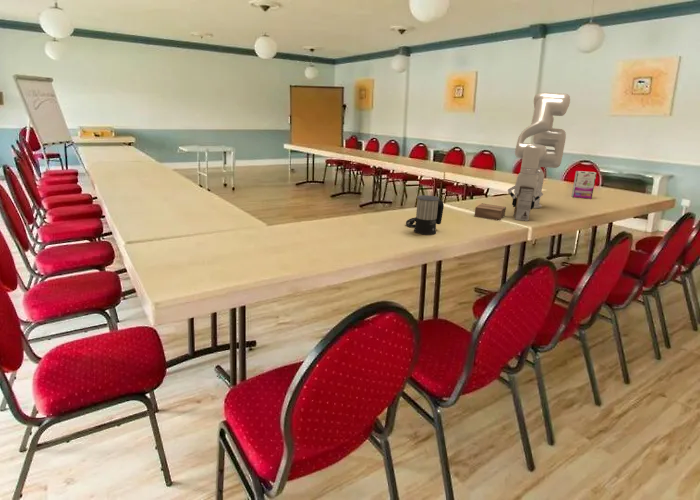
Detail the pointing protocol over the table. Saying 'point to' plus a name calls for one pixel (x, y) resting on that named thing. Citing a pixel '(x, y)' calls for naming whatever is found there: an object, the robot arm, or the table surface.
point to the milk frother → (427, 215)
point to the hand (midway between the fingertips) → (522, 207)
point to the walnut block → (490, 211)
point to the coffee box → (523, 203)
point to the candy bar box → (583, 184)
